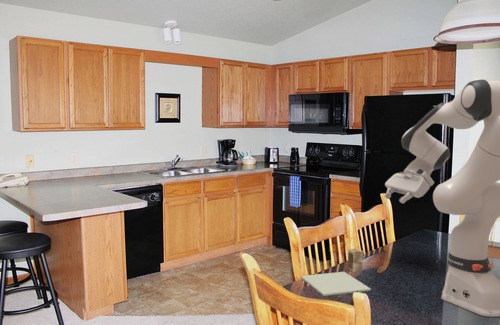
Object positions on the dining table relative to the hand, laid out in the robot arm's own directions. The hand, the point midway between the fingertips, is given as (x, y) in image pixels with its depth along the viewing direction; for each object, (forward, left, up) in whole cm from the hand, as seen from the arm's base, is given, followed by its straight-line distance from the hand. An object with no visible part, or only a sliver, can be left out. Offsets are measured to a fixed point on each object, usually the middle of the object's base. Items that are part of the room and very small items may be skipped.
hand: (393, 199), depth 173 cm
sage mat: (-11, +31, -27) cm, 43 cm away
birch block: (0, +16, -27) cm, 32 cm away
